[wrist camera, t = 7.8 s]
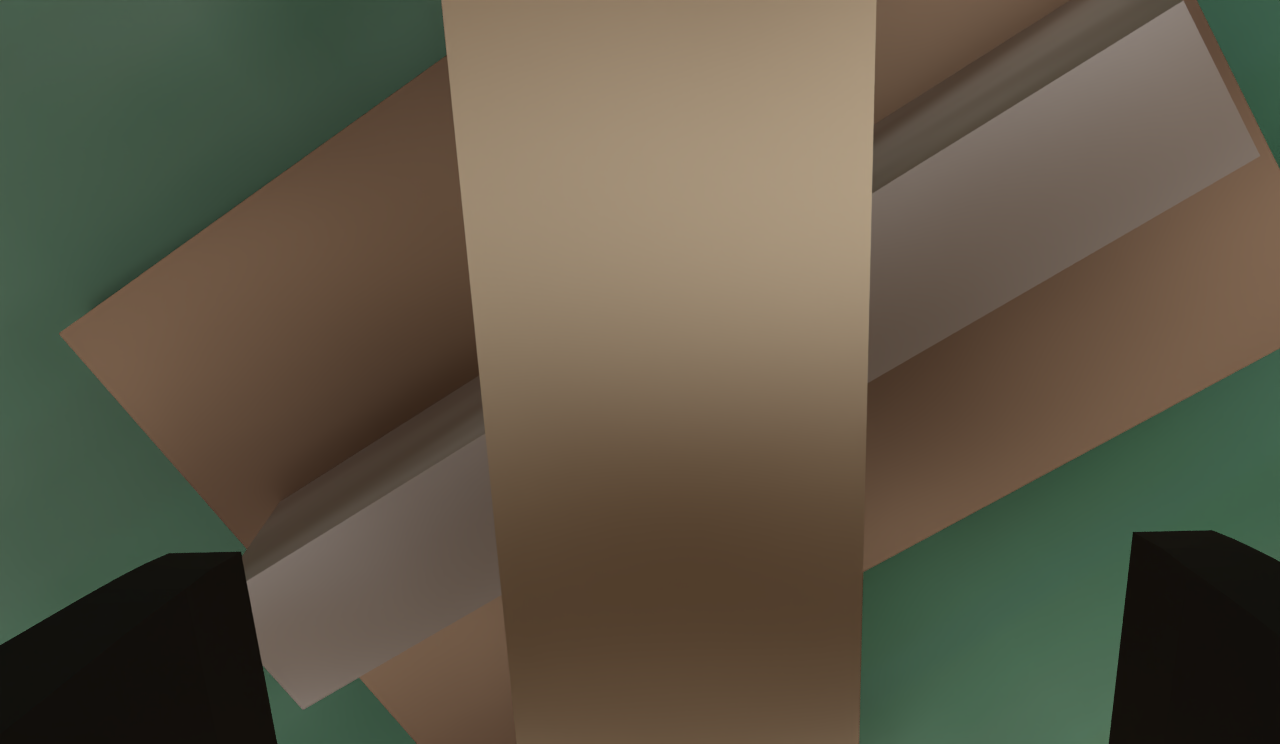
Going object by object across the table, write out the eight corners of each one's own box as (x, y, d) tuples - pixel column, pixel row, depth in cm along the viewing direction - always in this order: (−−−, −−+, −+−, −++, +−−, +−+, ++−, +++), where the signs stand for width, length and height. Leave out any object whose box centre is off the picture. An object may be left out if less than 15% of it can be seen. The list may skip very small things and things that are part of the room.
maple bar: (805, 1001, 18) (844, 1376, 14) (608, 1001, 18) (579, 1372, 14) (811, -612, 11) (898, -993, 6) (489, -589, 11) (345, -943, 7)
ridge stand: (89, 313, 19) (-59, 411, 15) (1000, -341, 15) (1101, -423, 11) (467, 752, 22) (421, 926, 18) (1314, 290, 18) (1477, 389, 14)
